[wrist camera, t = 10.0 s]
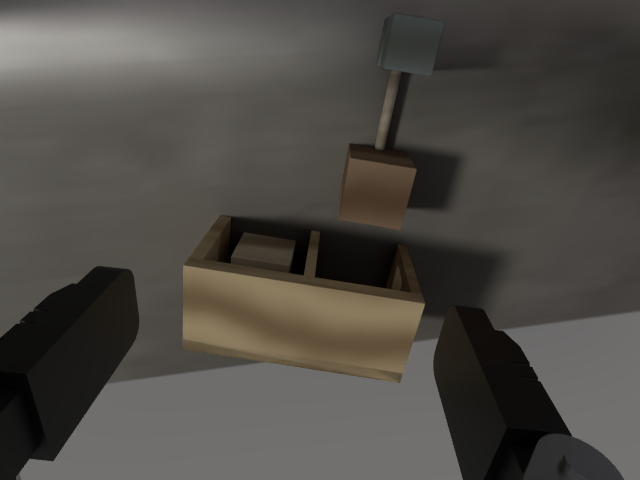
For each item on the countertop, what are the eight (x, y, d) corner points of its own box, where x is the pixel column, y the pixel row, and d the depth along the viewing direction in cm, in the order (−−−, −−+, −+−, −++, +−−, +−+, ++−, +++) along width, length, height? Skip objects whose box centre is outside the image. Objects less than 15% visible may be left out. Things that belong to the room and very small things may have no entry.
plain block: (244, 232, 37) (231, 256, 33) (296, 240, 37) (289, 265, 33) (240, 276, 39) (228, 305, 35) (289, 284, 39) (283, 313, 35)
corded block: (372, 17, 29) (379, 10, 24) (438, 29, 29) (460, 24, 24) (339, 198, 35) (338, 226, 30) (393, 207, 35) (402, 236, 30)
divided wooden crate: (220, 215, 36) (183, 265, 28) (406, 245, 36) (425, 303, 28) (216, 285, 39) (182, 349, 31) (387, 312, 40) (399, 382, 31)
